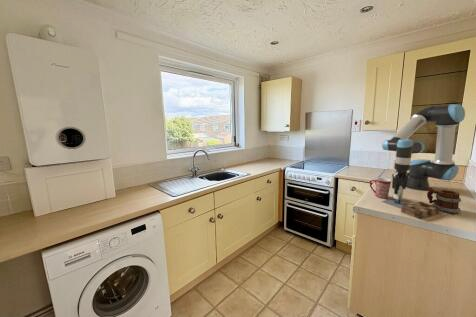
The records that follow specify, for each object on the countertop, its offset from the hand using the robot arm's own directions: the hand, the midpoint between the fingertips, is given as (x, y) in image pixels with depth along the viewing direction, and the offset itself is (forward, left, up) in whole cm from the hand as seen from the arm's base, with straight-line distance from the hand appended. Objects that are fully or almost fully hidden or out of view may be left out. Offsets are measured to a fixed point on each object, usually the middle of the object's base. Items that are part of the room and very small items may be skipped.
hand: (397, 198), depth 130 cm
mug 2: (-15, +16, -4) cm, 22 cm away
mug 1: (-1, -13, -4) cm, 14 cm away
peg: (0, 0, -4) cm, 4 cm away
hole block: (+3, +14, -4) cm, 15 cm away
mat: (0, 0, -4) cm, 4 cm away
